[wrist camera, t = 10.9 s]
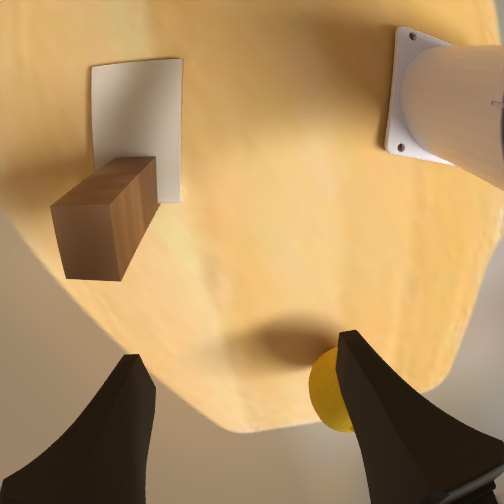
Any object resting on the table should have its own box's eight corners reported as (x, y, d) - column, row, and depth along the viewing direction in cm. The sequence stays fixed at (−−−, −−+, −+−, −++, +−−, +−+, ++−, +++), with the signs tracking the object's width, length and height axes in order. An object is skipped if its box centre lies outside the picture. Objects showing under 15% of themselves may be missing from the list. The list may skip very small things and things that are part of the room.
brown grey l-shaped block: (183, 59, 14) (145, 37, 7) (182, 204, 18) (154, 282, 11) (96, 67, 14) (11, 64, 7) (102, 204, 18) (40, 277, 11)
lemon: (287, 353, 25) (304, 440, 18) (343, 314, 23) (379, 399, 16) (325, 379, 27) (345, 455, 20) (376, 346, 25) (409, 420, 18)
